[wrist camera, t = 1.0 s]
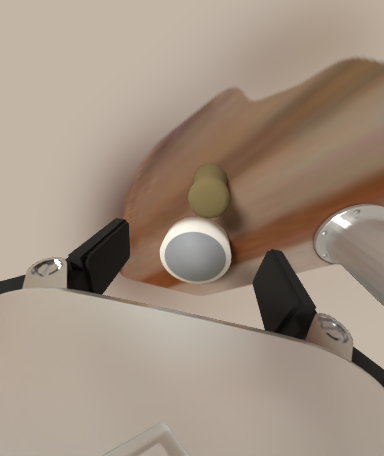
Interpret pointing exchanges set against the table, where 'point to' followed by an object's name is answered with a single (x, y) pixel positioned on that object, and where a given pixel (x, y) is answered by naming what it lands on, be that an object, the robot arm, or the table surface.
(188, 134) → the table surface
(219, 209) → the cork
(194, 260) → the podium
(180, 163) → the table surface
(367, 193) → the table surface
